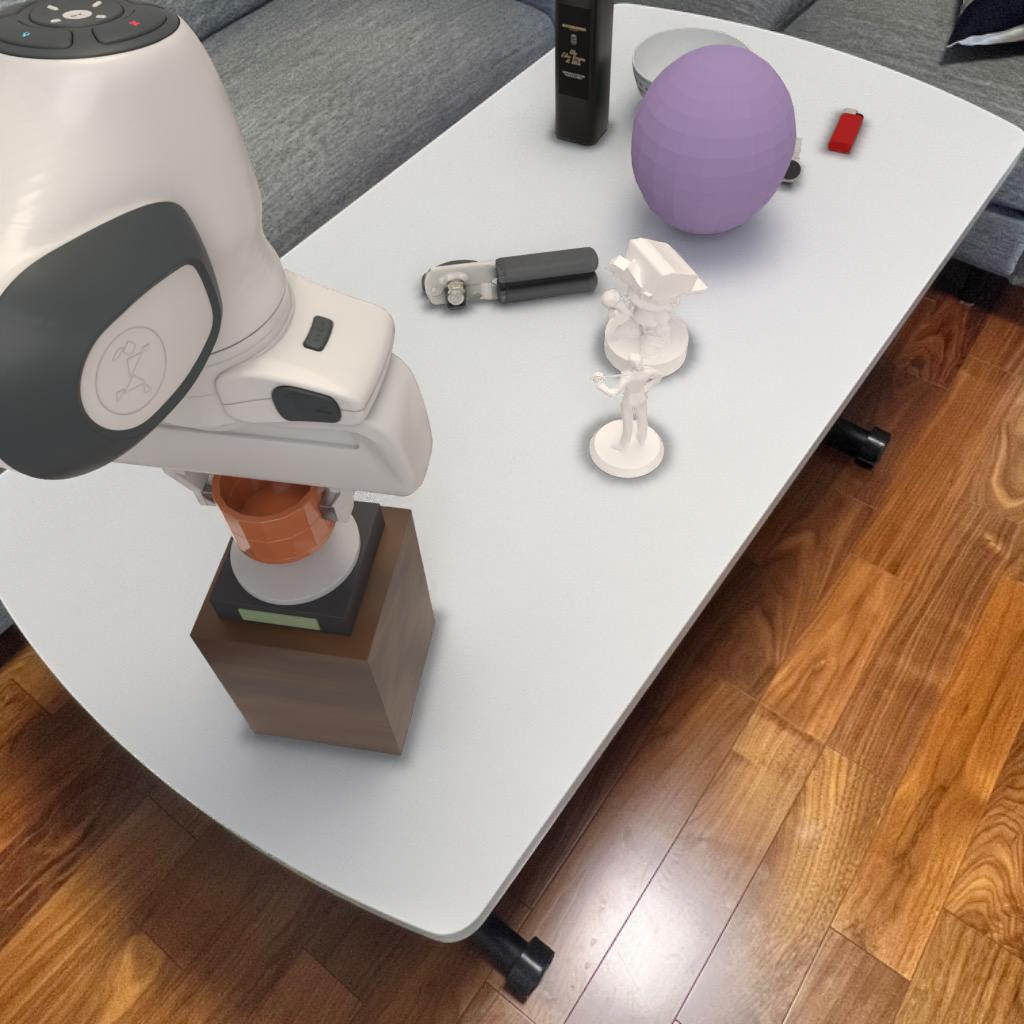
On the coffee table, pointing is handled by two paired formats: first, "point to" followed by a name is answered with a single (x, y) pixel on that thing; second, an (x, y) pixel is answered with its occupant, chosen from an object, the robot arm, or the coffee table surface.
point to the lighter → (846, 131)
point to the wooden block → (334, 657)
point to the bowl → (272, 517)
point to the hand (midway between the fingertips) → (278, 505)
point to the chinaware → (672, 50)
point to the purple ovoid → (713, 139)
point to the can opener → (512, 277)
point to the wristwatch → (794, 164)
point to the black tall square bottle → (582, 68)
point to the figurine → (628, 425)
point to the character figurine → (648, 306)
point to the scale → (305, 580)
